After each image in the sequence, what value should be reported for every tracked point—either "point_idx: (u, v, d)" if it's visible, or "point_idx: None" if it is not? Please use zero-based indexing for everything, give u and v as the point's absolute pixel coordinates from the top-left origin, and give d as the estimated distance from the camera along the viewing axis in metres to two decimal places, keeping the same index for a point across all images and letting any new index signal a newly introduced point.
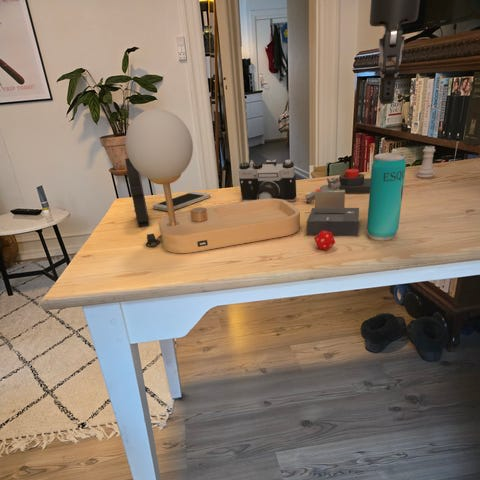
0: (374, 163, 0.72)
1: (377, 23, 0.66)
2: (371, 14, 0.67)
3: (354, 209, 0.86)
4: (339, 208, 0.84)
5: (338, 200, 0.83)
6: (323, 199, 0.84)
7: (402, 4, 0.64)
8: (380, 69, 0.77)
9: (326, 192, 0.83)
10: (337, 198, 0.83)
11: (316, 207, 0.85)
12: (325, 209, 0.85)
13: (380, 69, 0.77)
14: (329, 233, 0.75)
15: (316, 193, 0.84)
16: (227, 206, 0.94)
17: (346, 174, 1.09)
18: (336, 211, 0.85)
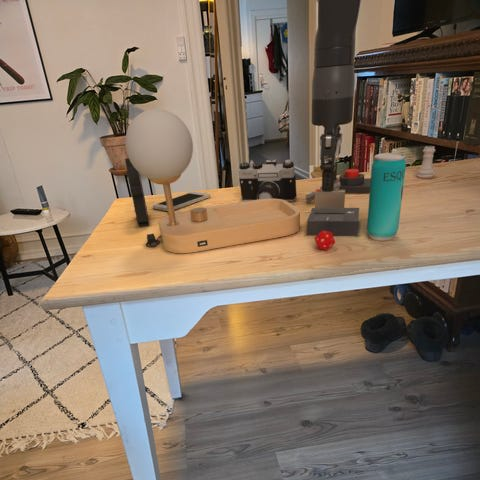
0: (374, 163, 0.72)
1: (316, 125, 0.76)
2: (312, 116, 0.76)
3: (354, 209, 0.86)
4: (339, 208, 0.84)
5: (338, 200, 0.83)
6: (323, 199, 0.84)
7: (336, 113, 0.73)
8: None
9: (326, 192, 0.83)
10: (337, 198, 0.83)
11: (316, 207, 0.85)
12: (325, 209, 0.85)
13: None
14: (329, 233, 0.75)
15: (316, 193, 0.84)
16: (227, 206, 0.94)
17: (346, 174, 1.09)
18: (336, 211, 0.85)
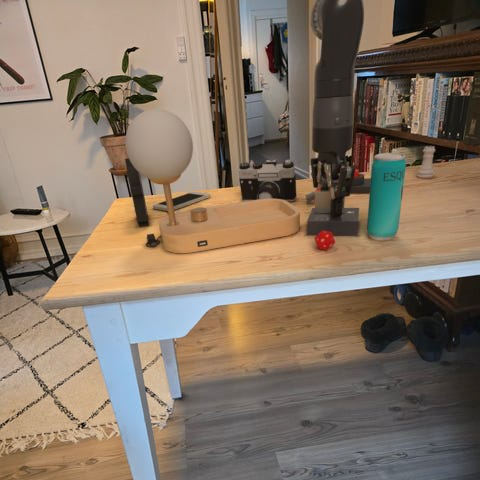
0: (374, 163, 0.72)
1: (326, 153, 0.76)
2: (318, 145, 0.76)
3: (354, 209, 0.86)
4: None
5: None
6: (323, 199, 0.84)
7: (346, 140, 0.75)
8: (314, 185, 0.86)
9: (326, 192, 0.83)
10: None
11: (316, 207, 0.85)
12: (325, 209, 0.85)
13: (314, 185, 0.86)
14: (329, 233, 0.75)
15: (316, 193, 0.84)
16: (227, 206, 0.94)
17: None
18: None
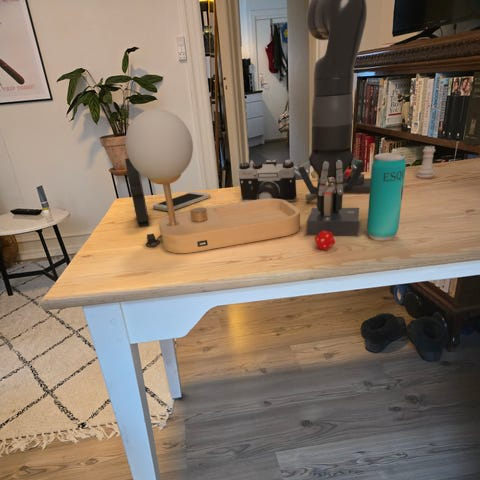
0: (374, 163, 0.72)
1: (346, 148, 0.77)
2: (341, 142, 0.76)
3: (354, 209, 0.86)
4: None
5: None
6: (332, 200, 0.83)
7: None
8: (313, 191, 0.83)
9: (332, 192, 0.83)
10: None
11: (331, 210, 0.83)
12: (332, 209, 0.85)
13: (313, 190, 0.82)
14: (329, 233, 0.75)
15: (331, 195, 0.81)
16: (227, 206, 0.94)
17: (346, 174, 1.09)
18: (333, 208, 0.87)
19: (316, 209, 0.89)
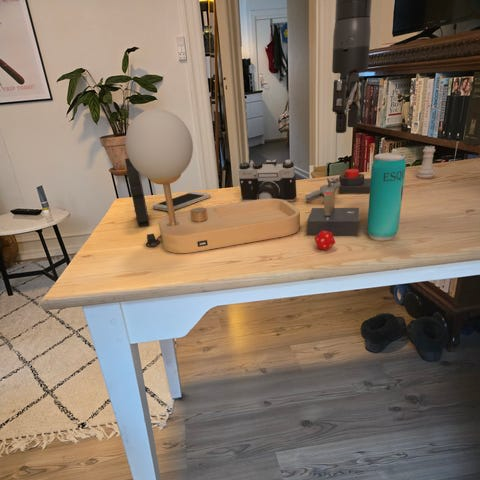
0: (374, 163, 0.72)
1: None
2: None
3: (354, 209, 0.86)
4: (334, 204, 0.87)
5: (334, 196, 0.86)
6: (332, 200, 0.83)
7: None
8: (344, 108, 0.87)
9: (332, 192, 0.83)
10: (334, 195, 0.85)
11: (331, 210, 0.83)
12: (332, 209, 0.85)
13: (344, 108, 0.87)
14: (329, 233, 0.75)
15: (331, 195, 0.81)
16: (227, 206, 0.94)
17: (346, 174, 1.09)
18: (333, 208, 0.87)
19: (316, 209, 0.89)
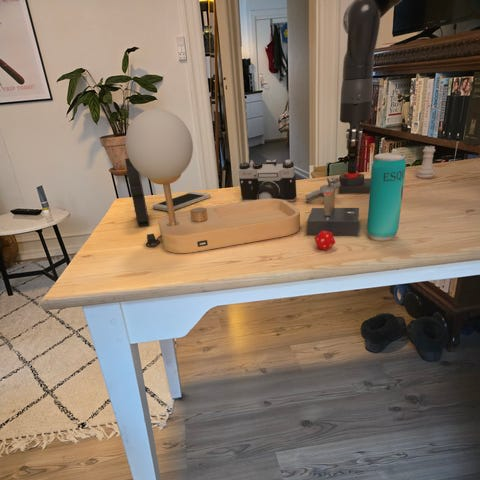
0: (374, 163, 0.72)
1: None
2: None
3: (354, 209, 0.86)
4: (334, 204, 0.87)
5: (334, 196, 0.86)
6: (332, 200, 0.83)
7: None
8: (357, 154, 1.05)
9: (332, 192, 0.83)
10: (334, 195, 0.85)
11: (331, 210, 0.83)
12: (332, 209, 0.85)
13: (357, 154, 1.05)
14: (329, 233, 0.75)
15: (331, 195, 0.81)
16: (227, 206, 0.94)
17: (346, 176, 1.09)
18: (333, 208, 0.87)
19: (316, 209, 0.89)
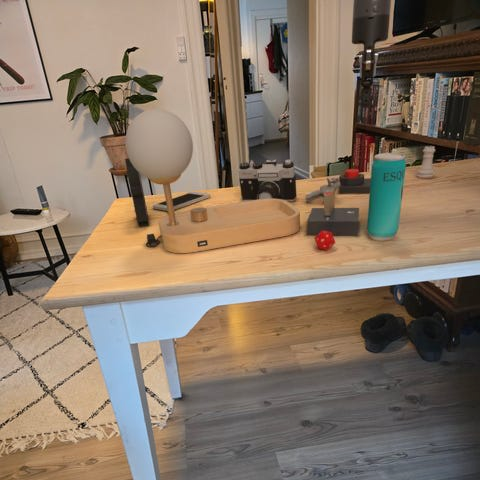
0: (374, 163, 0.72)
1: (381, 40, 0.90)
2: None
3: (354, 209, 0.86)
4: (334, 204, 0.87)
5: (334, 196, 0.86)
6: (332, 200, 0.83)
7: None
8: (372, 82, 0.90)
9: (332, 192, 0.83)
10: (334, 195, 0.85)
11: (331, 210, 0.83)
12: (332, 209, 0.85)
13: (372, 82, 0.90)
14: (329, 233, 0.75)
15: (331, 195, 0.81)
16: (227, 206, 0.94)
17: (346, 174, 1.09)
18: (333, 208, 0.87)
19: (316, 209, 0.89)
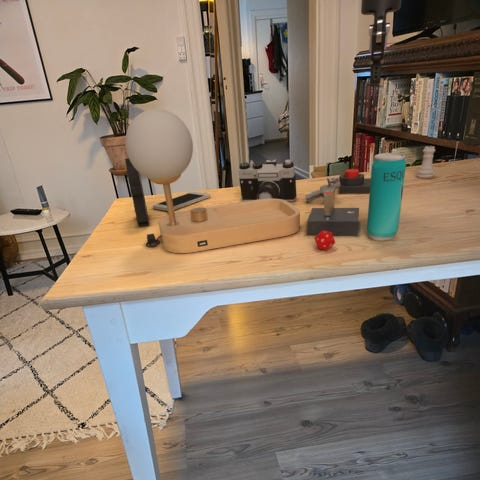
0: (374, 163, 0.72)
1: (393, 11, 0.83)
2: None
3: (354, 209, 0.86)
4: (334, 204, 0.87)
5: (334, 196, 0.86)
6: (332, 200, 0.83)
7: None
8: None
9: (332, 192, 0.83)
10: (334, 195, 0.85)
11: (331, 210, 0.83)
12: (332, 209, 0.85)
13: (383, 56, 0.83)
14: (329, 233, 0.75)
15: (331, 195, 0.81)
16: (227, 206, 0.94)
17: (346, 174, 1.09)
18: (333, 208, 0.87)
19: (316, 209, 0.89)
